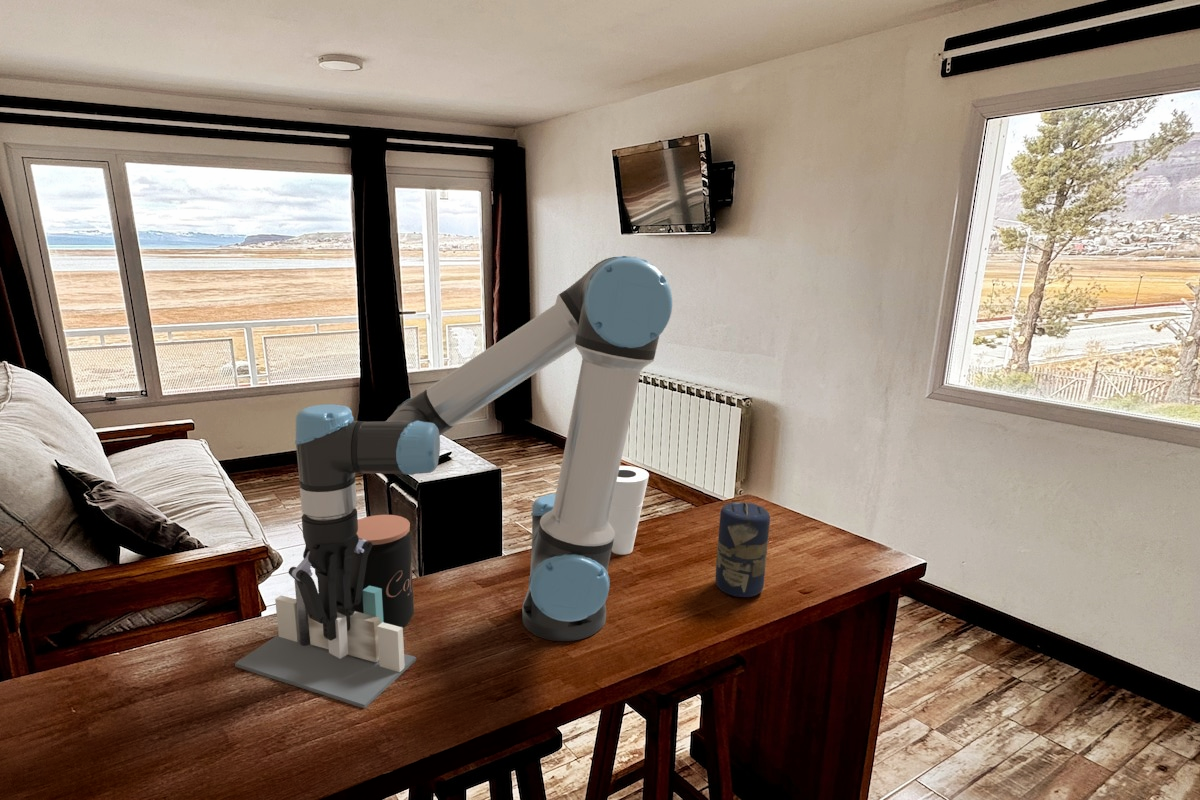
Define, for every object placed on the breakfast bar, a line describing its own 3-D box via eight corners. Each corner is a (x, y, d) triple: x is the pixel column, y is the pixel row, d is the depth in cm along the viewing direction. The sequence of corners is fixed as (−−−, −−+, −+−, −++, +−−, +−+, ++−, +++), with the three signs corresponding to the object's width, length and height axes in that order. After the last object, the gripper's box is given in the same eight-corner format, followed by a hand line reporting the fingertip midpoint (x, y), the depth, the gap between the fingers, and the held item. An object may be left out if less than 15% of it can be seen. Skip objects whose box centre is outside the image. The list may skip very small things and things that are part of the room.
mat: (416, 660, 102) (416, 656, 102) (364, 708, 91) (364, 704, 91) (295, 626, 110) (295, 623, 110) (235, 666, 99) (234, 663, 99)
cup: (646, 561, 137) (650, 482, 133) (597, 560, 137) (599, 481, 133) (644, 540, 147) (647, 466, 143) (598, 538, 147) (600, 465, 143)
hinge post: (316, 643, 105) (310, 577, 103) (307, 650, 104) (301, 583, 101) (307, 640, 106) (301, 575, 103) (297, 647, 104) (291, 580, 102)
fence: (404, 667, 99) (402, 627, 97) (399, 672, 98) (397, 631, 96) (284, 632, 107) (281, 595, 106) (278, 636, 106) (275, 598, 104)
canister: (709, 594, 124) (715, 508, 120) (719, 573, 133) (725, 492, 129) (759, 605, 120) (767, 517, 117) (766, 582, 129) (774, 499, 125)
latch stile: (385, 655, 103) (381, 588, 100) (378, 661, 101) (374, 593, 99) (373, 652, 104) (369, 585, 101) (366, 657, 102) (362, 590, 99)
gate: (310, 644, 104) (307, 605, 102) (317, 639, 105) (314, 601, 103) (376, 662, 99) (373, 622, 98) (382, 657, 101) (380, 617, 99)
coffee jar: (395, 642, 106) (390, 543, 102) (338, 633, 108) (330, 536, 104) (424, 609, 116) (421, 517, 112) (372, 601, 119) (366, 511, 115)
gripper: (350, 492, 100) (357, 625, 105) (272, 519, 89) (284, 666, 94) (382, 502, 96) (388, 640, 102) (305, 532, 85) (316, 685, 91)
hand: (338, 653), depth 98 cm, fingers closed
